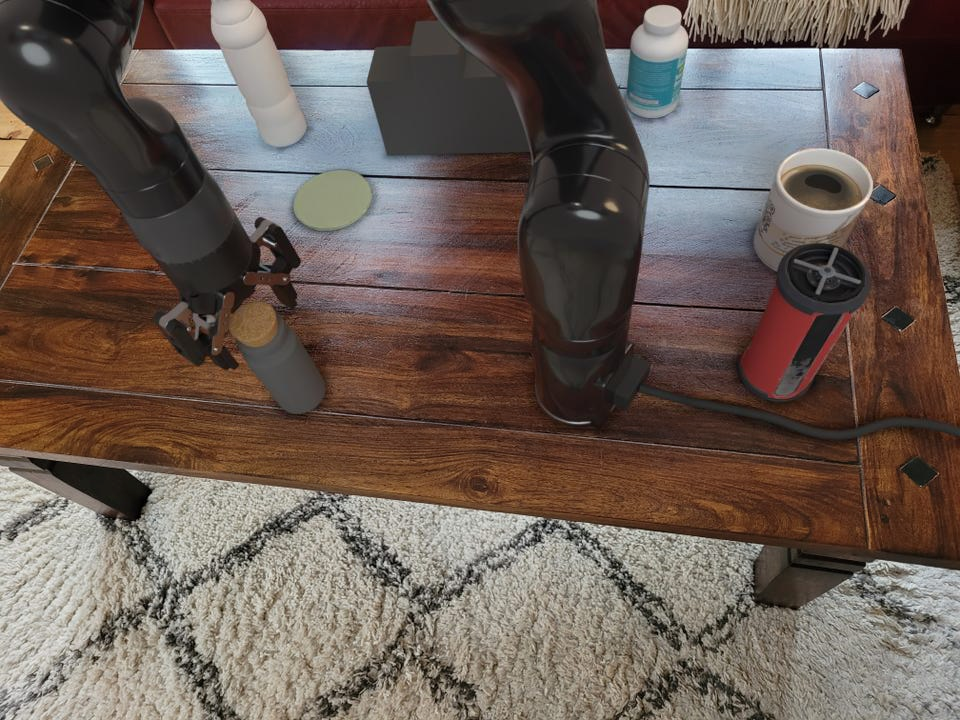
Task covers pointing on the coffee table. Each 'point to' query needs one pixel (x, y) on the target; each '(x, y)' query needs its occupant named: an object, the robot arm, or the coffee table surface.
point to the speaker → (803, 319)
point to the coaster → (332, 200)
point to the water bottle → (258, 70)
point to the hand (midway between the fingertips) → (260, 333)
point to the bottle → (277, 357)
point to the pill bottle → (656, 63)
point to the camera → (441, 99)
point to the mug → (812, 203)
